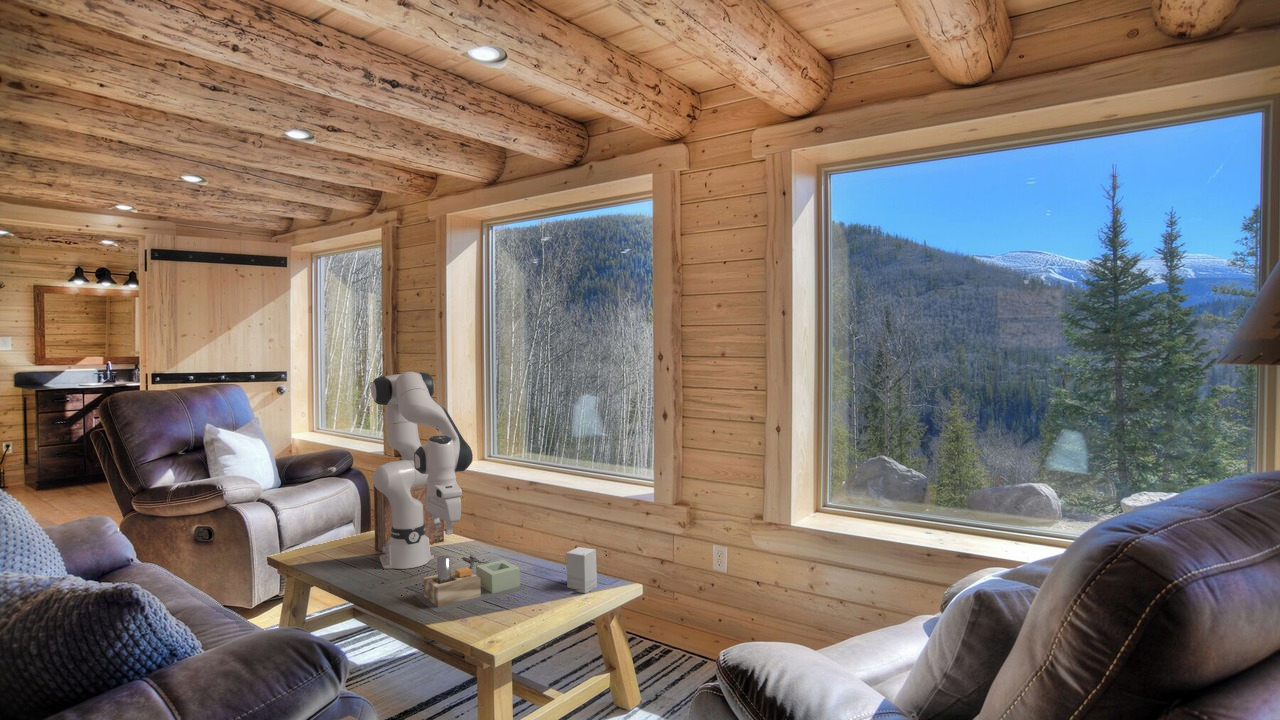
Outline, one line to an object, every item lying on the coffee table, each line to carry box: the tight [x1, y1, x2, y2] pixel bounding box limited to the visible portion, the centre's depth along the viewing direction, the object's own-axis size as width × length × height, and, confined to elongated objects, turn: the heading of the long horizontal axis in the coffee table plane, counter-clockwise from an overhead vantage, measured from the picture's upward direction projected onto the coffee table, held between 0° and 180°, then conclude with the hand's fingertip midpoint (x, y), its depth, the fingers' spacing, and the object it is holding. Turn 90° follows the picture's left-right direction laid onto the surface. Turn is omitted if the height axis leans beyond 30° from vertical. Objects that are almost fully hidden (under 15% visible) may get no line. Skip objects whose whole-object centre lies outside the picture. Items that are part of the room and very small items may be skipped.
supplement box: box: [565, 546, 598, 594], centre depth 224 cm, size 7×7×13 cm
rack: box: [475, 559, 521, 593], centre depth 226 cm, size 12×10×6 cm
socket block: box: [423, 570, 481, 607], centre depth 217 cm, size 12×14×6 cm
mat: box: [414, 583, 529, 613], centre depth 221 cm, size 19×31×1 cm, turn 128°
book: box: [373, 485, 445, 554], centre depth 276 cm, size 25×9×30 cm, turn 135°
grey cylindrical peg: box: [436, 555, 452, 584], centre depth 215 cm, size 4×4×12 cm
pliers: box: [463, 555, 489, 570], centre depth 251 cm, size 10×1×20 cm
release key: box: [454, 566, 473, 577], centre depth 219 cm, size 4×4×6 cm
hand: (443, 531), depth 215 cm, fingers open, 8 cm apart
